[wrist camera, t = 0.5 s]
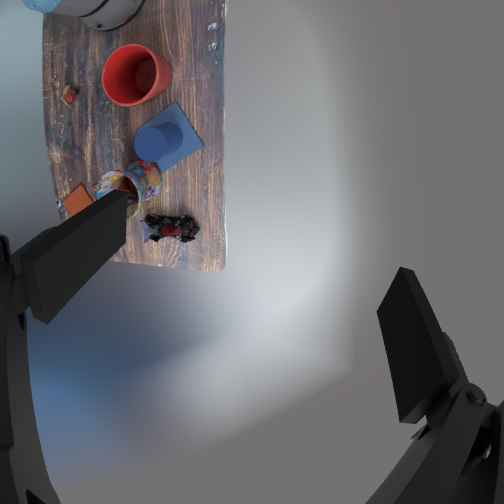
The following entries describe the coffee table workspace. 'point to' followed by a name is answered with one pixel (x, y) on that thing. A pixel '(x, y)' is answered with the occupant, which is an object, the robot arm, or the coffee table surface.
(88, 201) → the rust mat
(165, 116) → the blue mat
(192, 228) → the toy car
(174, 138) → the blue tin
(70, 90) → the matchbox
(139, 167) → the mug
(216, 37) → the coffee table surface
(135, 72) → the flower pot
